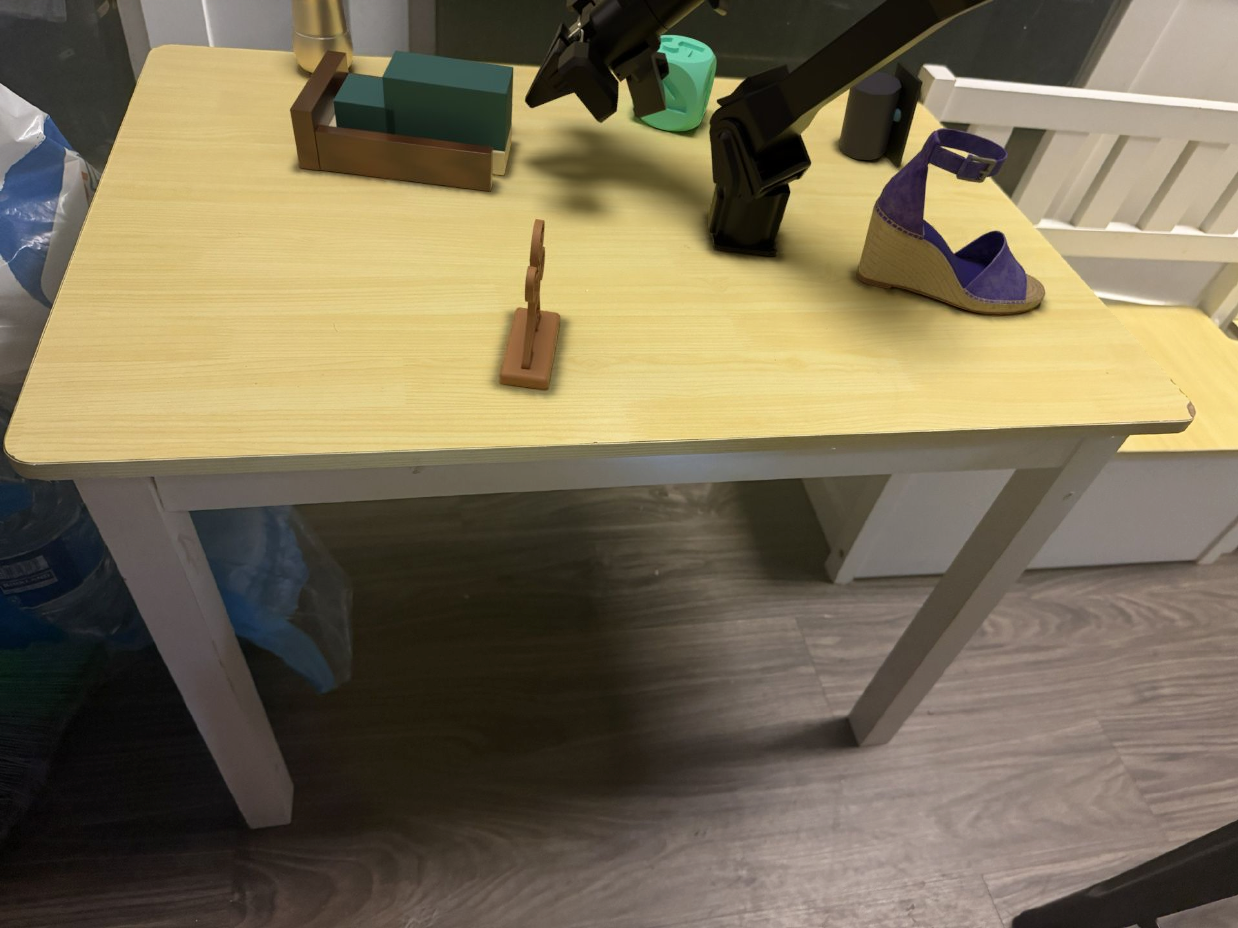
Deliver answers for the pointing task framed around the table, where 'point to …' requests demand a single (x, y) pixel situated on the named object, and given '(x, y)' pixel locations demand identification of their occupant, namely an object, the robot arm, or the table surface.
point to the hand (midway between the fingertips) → (527, 103)
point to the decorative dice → (684, 83)
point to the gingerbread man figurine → (531, 328)
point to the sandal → (919, 253)
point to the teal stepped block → (433, 102)
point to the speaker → (880, 115)
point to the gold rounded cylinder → (319, 31)
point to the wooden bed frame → (377, 141)
